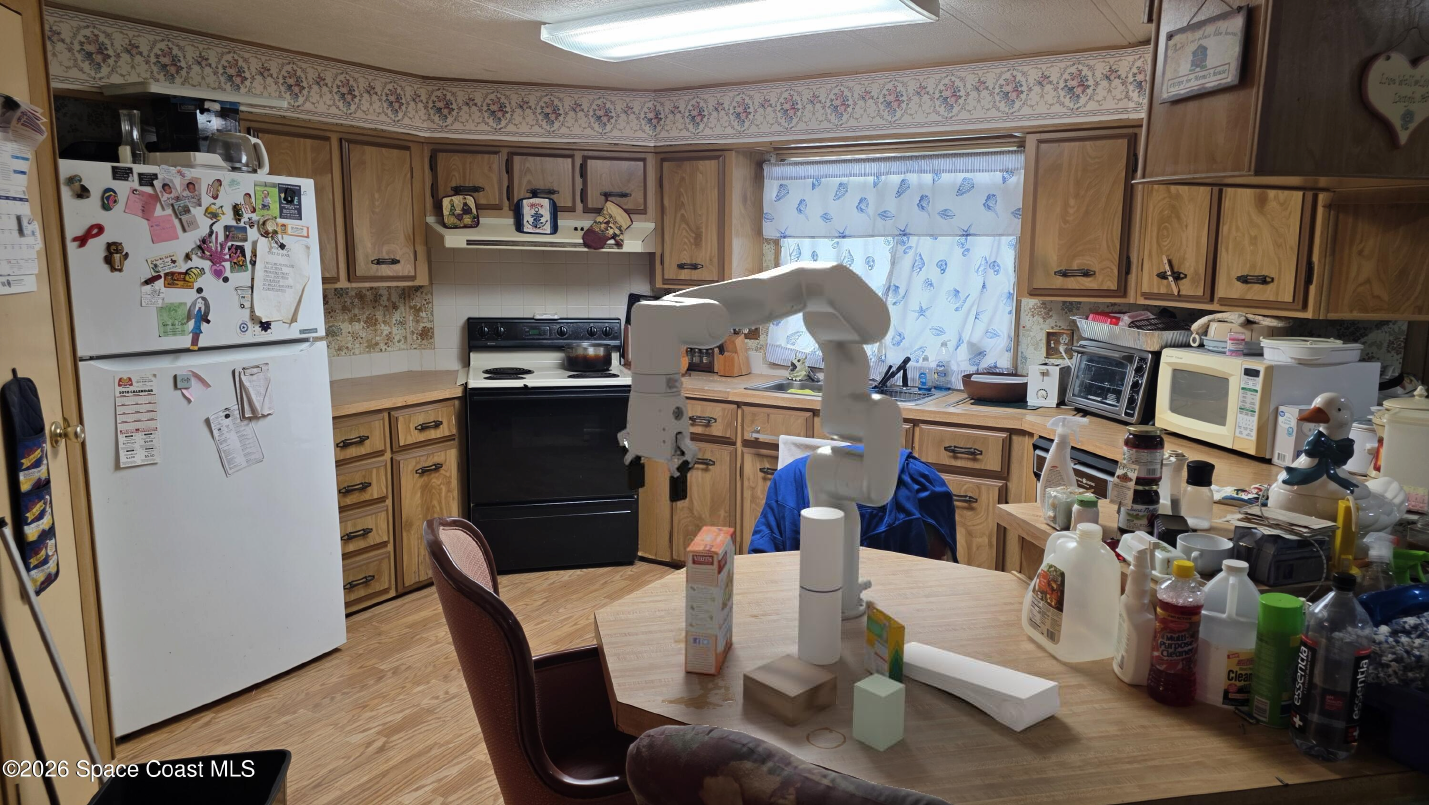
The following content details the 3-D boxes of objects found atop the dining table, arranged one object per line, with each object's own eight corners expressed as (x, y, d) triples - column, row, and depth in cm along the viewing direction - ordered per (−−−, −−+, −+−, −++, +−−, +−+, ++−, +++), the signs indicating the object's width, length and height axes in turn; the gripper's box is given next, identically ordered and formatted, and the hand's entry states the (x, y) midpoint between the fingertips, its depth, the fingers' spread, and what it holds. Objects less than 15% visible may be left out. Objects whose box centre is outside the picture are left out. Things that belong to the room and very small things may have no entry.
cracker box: (719, 677, 144) (720, 552, 141) (683, 673, 145) (683, 549, 142) (735, 641, 158) (736, 526, 154) (701, 638, 159) (702, 524, 156)
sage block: (874, 725, 130) (876, 673, 128) (903, 738, 126) (905, 685, 125) (852, 737, 126) (854, 684, 125) (881, 751, 123) (883, 696, 121)
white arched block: (883, 697, 150) (1027, 750, 127) (872, 658, 149) (1017, 705, 126) (921, 667, 155) (1066, 713, 133) (912, 629, 154) (1057, 669, 131)
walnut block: (787, 683, 143) (788, 654, 142) (836, 706, 135) (837, 675, 135) (742, 704, 136) (743, 673, 135) (791, 729, 129) (792, 696, 128)
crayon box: (903, 684, 142) (906, 615, 140) (887, 687, 141) (890, 617, 139) (879, 665, 149) (882, 598, 147) (863, 668, 148) (866, 601, 146)
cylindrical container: (812, 668, 147) (816, 521, 143) (789, 651, 154) (792, 510, 150) (848, 659, 151) (853, 515, 147) (824, 643, 157) (828, 505, 153)
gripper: (714, 387, 131) (714, 501, 134) (638, 376, 143) (638, 480, 146) (677, 392, 126) (677, 510, 129) (600, 380, 138) (602, 488, 141)
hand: (656, 494), depth 137 cm, fingers open, 9 cm apart
